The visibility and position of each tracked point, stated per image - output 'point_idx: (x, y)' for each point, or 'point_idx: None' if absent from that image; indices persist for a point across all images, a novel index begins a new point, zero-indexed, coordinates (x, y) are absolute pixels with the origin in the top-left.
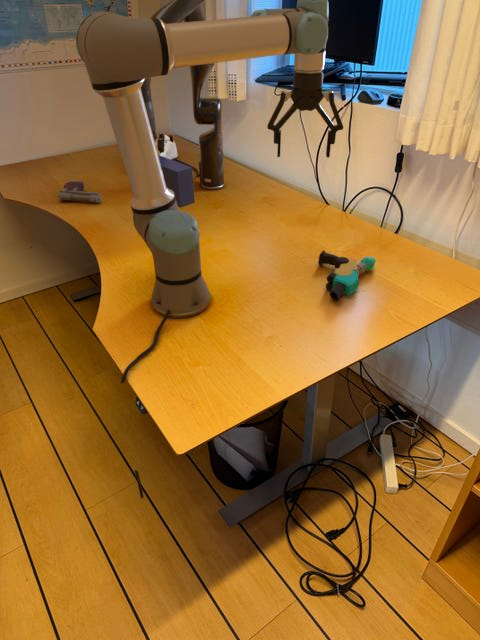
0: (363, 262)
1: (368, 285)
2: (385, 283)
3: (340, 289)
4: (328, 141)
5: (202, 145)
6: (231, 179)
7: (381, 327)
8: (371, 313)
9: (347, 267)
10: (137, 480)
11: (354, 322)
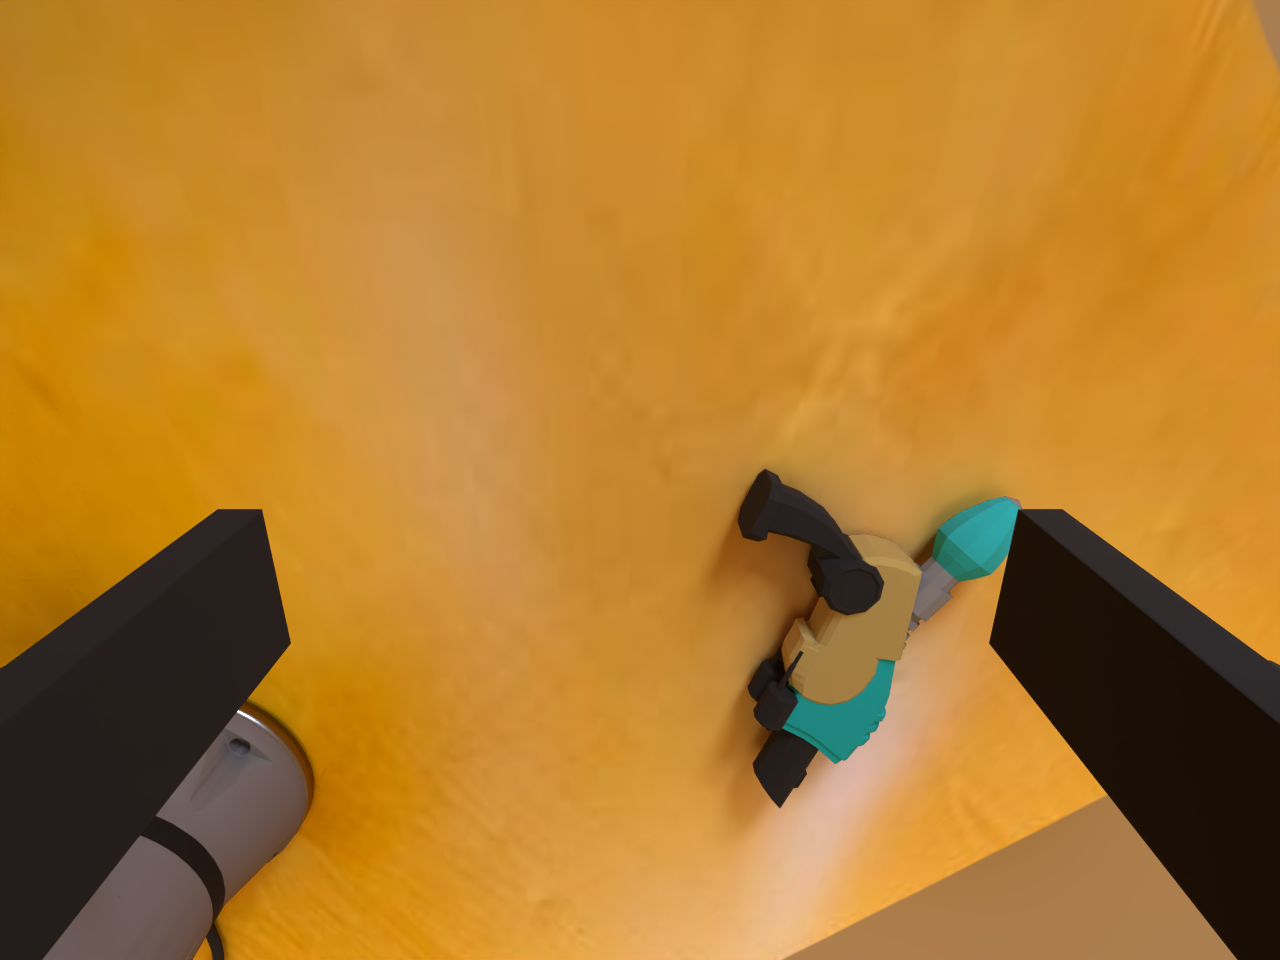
0: (952, 573)
1: (928, 639)
2: None
3: (796, 778)
4: (1148, 836)
5: None
6: None
7: (895, 853)
8: (885, 794)
9: (861, 643)
10: None
11: (815, 836)
